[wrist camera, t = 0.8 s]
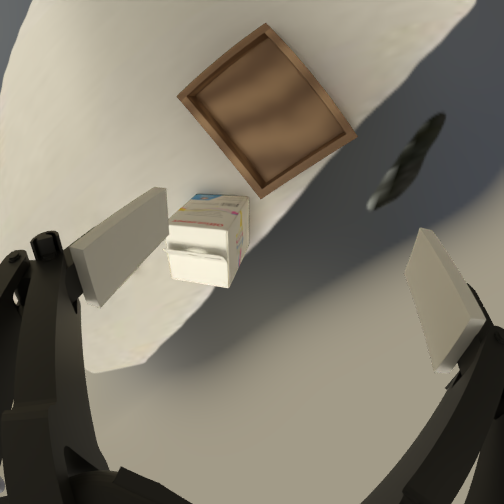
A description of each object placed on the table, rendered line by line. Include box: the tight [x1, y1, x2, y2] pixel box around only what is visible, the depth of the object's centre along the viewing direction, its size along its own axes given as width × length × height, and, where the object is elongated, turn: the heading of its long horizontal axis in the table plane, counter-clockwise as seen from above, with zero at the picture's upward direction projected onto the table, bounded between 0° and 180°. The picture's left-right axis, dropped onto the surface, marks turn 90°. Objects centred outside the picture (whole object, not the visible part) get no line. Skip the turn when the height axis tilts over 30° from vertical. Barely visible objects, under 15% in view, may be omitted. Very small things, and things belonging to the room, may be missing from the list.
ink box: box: [162, 194, 249, 288], centre depth 39 cm, size 9×8×13 cm
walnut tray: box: [177, 23, 358, 199], centre depth 33 cm, size 18×15×4 cm
